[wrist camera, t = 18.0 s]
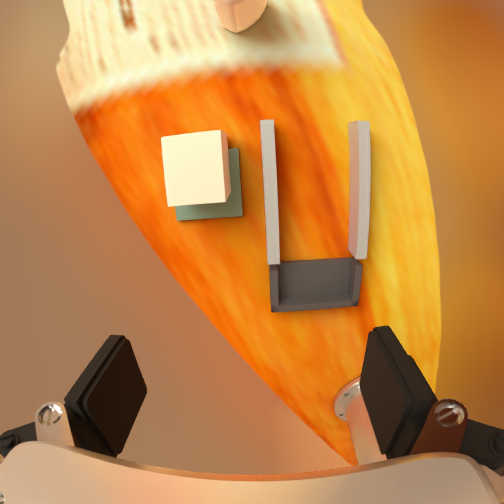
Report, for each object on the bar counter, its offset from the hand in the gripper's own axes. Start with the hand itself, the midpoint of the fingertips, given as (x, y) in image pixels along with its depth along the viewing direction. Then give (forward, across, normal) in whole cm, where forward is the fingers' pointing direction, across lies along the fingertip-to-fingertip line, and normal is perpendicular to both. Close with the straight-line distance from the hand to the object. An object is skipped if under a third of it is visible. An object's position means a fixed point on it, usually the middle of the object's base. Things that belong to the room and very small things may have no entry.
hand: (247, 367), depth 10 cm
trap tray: (+22, -6, +7) cm, 24 cm away
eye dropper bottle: (+21, 0, -24) cm, 32 cm away
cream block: (+21, +5, -7) cm, 22 cm away
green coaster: (+21, +5, -5) cm, 23 cm away
